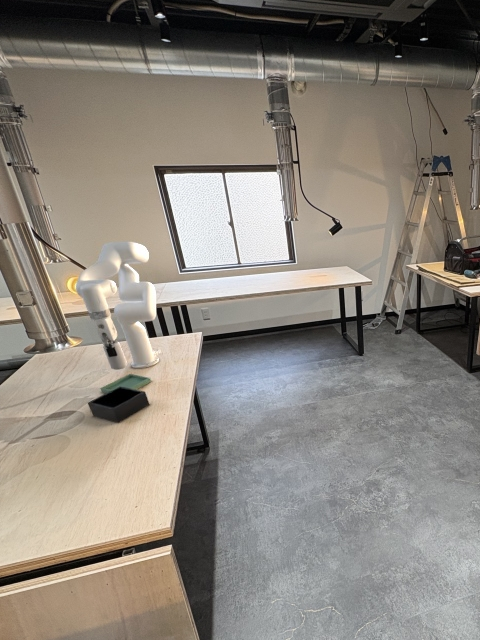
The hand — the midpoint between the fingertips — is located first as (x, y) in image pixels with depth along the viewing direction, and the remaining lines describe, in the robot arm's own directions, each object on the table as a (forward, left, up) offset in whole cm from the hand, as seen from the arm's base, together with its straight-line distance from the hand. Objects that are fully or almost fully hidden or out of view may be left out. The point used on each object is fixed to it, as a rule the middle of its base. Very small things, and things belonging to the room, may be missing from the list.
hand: (114, 352), depth 180 cm
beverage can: (0, 0, -7) cm, 7 cm away
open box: (+16, +17, -17) cm, 29 cm away
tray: (0, 0, -17) cm, 17 cm away
